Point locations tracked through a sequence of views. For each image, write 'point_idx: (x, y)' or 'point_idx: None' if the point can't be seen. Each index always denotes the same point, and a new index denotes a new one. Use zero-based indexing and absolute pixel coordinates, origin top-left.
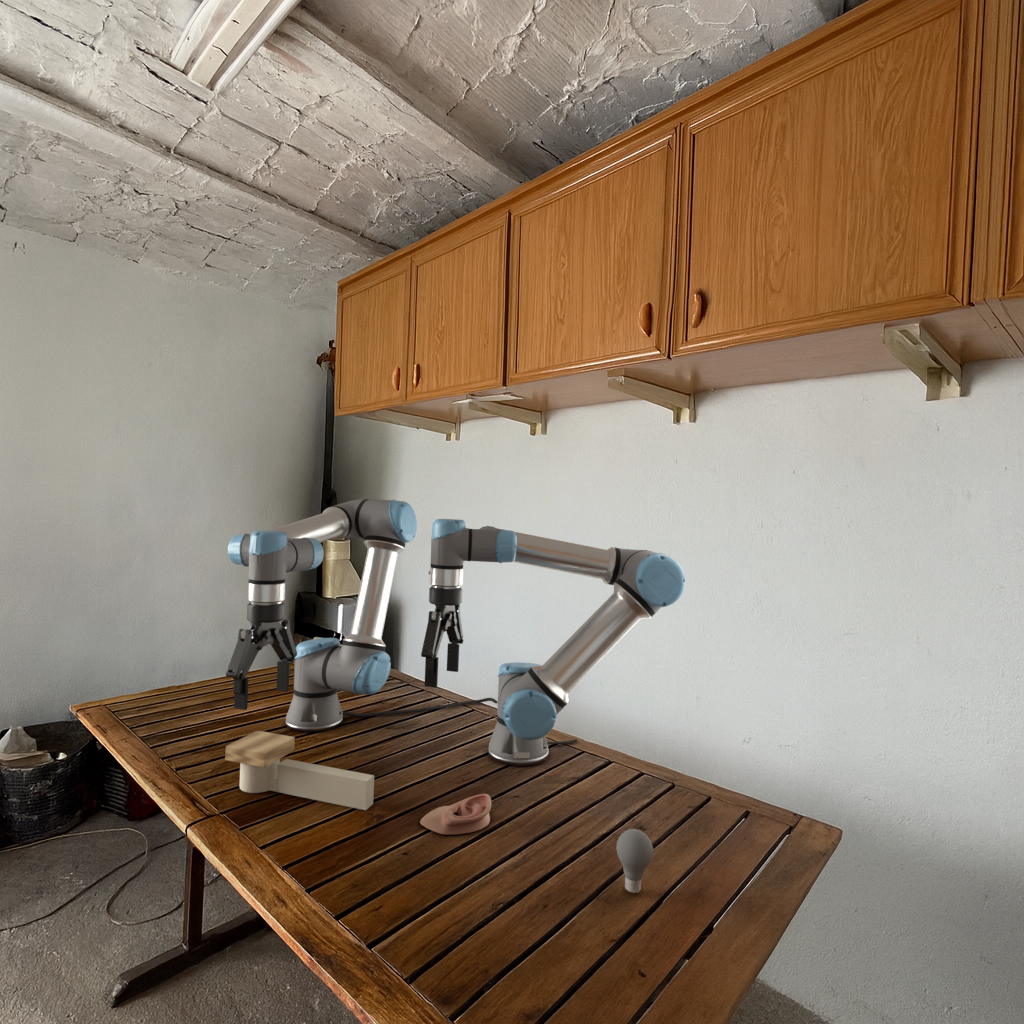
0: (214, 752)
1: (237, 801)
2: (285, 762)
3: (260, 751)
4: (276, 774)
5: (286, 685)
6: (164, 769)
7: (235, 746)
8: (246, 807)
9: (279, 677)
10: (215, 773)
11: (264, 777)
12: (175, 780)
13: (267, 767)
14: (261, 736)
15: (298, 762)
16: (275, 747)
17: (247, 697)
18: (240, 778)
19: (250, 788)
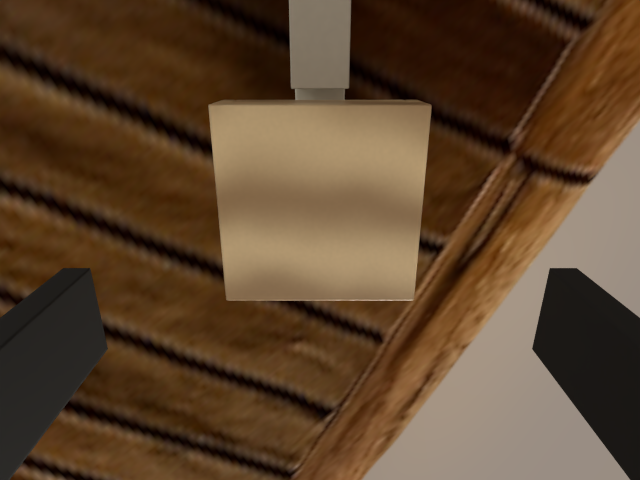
0: (204, 407)
1: (434, 155)
2: (323, 67)
3: (418, 139)
4: None
5: (62, 295)
6: (338, 434)
7: (404, 266)
8: (460, 104)
9: (43, 402)
10: (308, 323)
11: None
12: (379, 376)
13: None
14: (272, 244)
15: (301, 11)
16: (354, 106)
17: (604, 315)
18: None
19: None
